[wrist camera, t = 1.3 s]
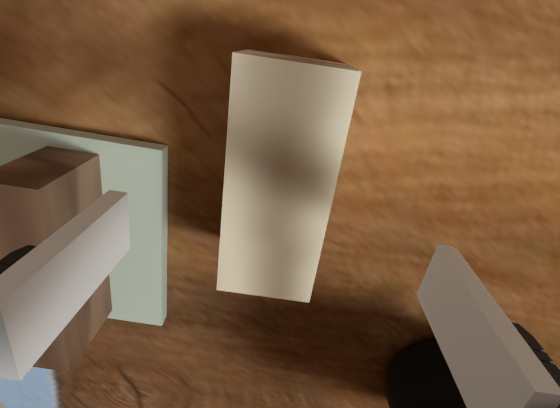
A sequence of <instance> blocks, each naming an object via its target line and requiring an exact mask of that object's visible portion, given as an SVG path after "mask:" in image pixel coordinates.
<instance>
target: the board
mask: <svg viewBox="0 0 560 408" xmlns="http://www.w3.org/2000/svg"><path fill="white" fill-rule="evenodd" d="M46 146H50V147H57V148H63V149H69V150H75V151H81V152H87V153H94V154H99V159H100V171H101V182H102V194H105V193H106V192H107V191H109V190H114V191H120V192H126V193H128V203H129V225H130V246H131V248H130V249H129V250H128V252H127V253H126V254H125V255H124V256H123V258H122V259H121V260H120V261H119V262H118V264H117V265H116V266H115V267H114V269H113V270H112V271H111V272H110V273H109V278H110V290H111V302H112V311H111V312H110V314H109V315H108V317H107V318H112V319H119V320H126V321H132V322H139V323H146V324H152V325H159V326H162V324H163V322H164V320H165V318H166V316H167V218H168V145H163V144H157V143H150V142H144V141H138V140H132V139H126V138H120V137H114V136H108V135H102V134H96V133H89V132H83V131H77V130H71V129H65V128H59V127H53V126H47V125H41V124H35V123H28V122H22V121H16V120H10V119H4V118H0V166H1V165H3V164H6V163H8V162H10V161H13V160H15V159H17V158H20V157H22V156H24V155H27V154H29V153H31V152H34V151H36V150H38V149H41V148H43V147H46Z"/></svg>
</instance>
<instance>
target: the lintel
mask: <svg viewBox="0 0 560 408" xmlns="http://www.w3.org/2000/svg"><path fill="white" fill-rule="evenodd" d="M360 76H361V71H359V70H357V69H355V68H353V67H352V66H350V65H348V64H346V63H339V62H332V61H326V60H319V59H312V58H305V57H299V56H292V55H285V54H279V53H272V52H265V51H259V50H252V49H246V50H241V51H236V52H232V65H231V80H230V95H229V110H228V125H227V140H226V155H225V170H224V185H223V200H222V215H221V230H220V245H219V260H218V276H217V290H220V291H227V292H234V293H242V294H249V295H256V296H264V297H271V298H278V299H285V300H293V301H300V302H307V303H309V302H310V298H311V293H312V289H313V284H314V280H315V276H316V271H317V267H318V262H319V258H320V254H321V249H322V245H323V240H324V236H325V231H326V227H327V223H328V218H329V214H330V209H331V205H332V200H333V196H334V192H335V187H336V183H337V178H338V174H339V169H340V165H341V161H342V156H343V152H344V147H345V143H346V138H347V134H348V130H349V125H350V121H351V116H352V112H353V107H354V103H355V99H356V94H357V90H358V85H359V81H360Z"/></svg>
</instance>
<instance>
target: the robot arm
mask: <svg viewBox="0 0 560 408" xmlns="http://www.w3.org/2000/svg"><path fill="white" fill-rule="evenodd" d="M130 248H131V246H130V225H129V203H128V193H126V192H120V191H114V190H109V191H107V192H106V193H105V194H103V195H102V196H101V197H100V198H98V199H97V200H96V201H94V202H93V203H92V204H91V205H89V206H88V207H87V208H85V209H84V210H83V211H82V212H80V213H79V214H78V215H76V216H75V217H74V218H73V219H71V220H70V221H69V222H67V223H66V224H65V225H64V226H62V227H61V228H60V229H58V230H57V231H56V232H54V233H53V234H52V235H51V236H49V237H48V238H47V239H45V240H44V241H43V242H42V243H40V244H39V245H38V246H34V245H27V246H24V247H22V248H20V249H17V250H15V251H13V252H10V253H9V254H8V255H6V256H5V257H3V258H2V259H1V260H0V378H4V379H11V380H17V381H21V380H22V378H23V377H24V376H25V375H26V374H27V372H28V371H29V370H30V369H31V368H32V366H33V365H34V364H35V363H36V362H37V360H38V359H39V358H40V357H41V356H42V354H43V353H44V352H45V351H46V349H47V348H48V347H49V346H50V345H51V343H52V342H53V341H54V340H55V339H56V337H57V336H58V335H59V334H60V333H61V331H62V330H63V329H64V328H65V327H66V325H67V324H68V323H69V322H70V320H71V319H72V318H73V317H74V316H75V314H76V313H77V312H78V311H79V310H80V308H81V307H82V306H83V305H84V304H85V302H86V301H87V300H88V299H89V298H90V296H91V295H92V294H93V293H94V291H95V290H96V289H97V288H98V287H99V285H100V284H101V283H102V282H103V281H104V279H105V278H106V277H107V276H108V275H109V273H110V272H111V271H112V270H113V269H114V267H115V266H116V265H117V264H118V262H119V261H120V260H121V259H122V258H123V256H124V255H125V254H126V253H127V252H128V250H129V249H130ZM416 295H417V297H418V300H419V302H420V304H421V306H422V309H423V311H424V313H425V315H426V318H427V320H428V322H429V324H430V326H431V329H432V331H433V333H434V335H435V338H436V340H437V342H438V344H439V347H440V349H441V351H442V353H443V356H444V358H445V360H446V362H447V364H448V367H449V369H450V371H451V373H452V376H453V378H454V380H455V382H456V385H457V387H458V389H459V391H460V394H461V396H462V398H463V400H464V402H465V405H466V407H467V408H560V370H559V369H558V367H557V366H556V365H554V364H553V361H552V360H551V358H550V357H549V356H548V355H547V353H544V350H543V348H542V347H541V346H540V344H539V343H538V342H537V341H536V339H535V338H534V337H533V336H532V335H531V334H530V333H529V332H527V331H526V330H525V329H524V328H523V327H522V326H520V325H519V324H517V323H511V321H510V320H509V318H508V317H507V316H506V314H505V313H504V312H503V310H502V309H501V308H500V306H499V305H498V304H497V302H496V301H495V300H494V298H493V297H492V296H491V294H490V293H489V291H488V290H487V289H486V287H485V286H484V285H483V283H482V282H481V281H480V279H479V278H478V277H477V275H476V274H475V273H474V271H473V270H472V269H471V267H470V266H469V264H468V263H467V262H466V260H465V259H464V258H463V256H462V255H461V254H460V252H459V251H458V250H457V248H456V247H451V246H445V245H439V244H438V245H437V248H436V250H435V252H434V255H433V257H432V259H431V262H430V264H429V266H428V269H427V271H426V273H425V276H424V278H423V280H422V283H421V285H420V287H419V290H418V292H417V294H416Z"/></svg>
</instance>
